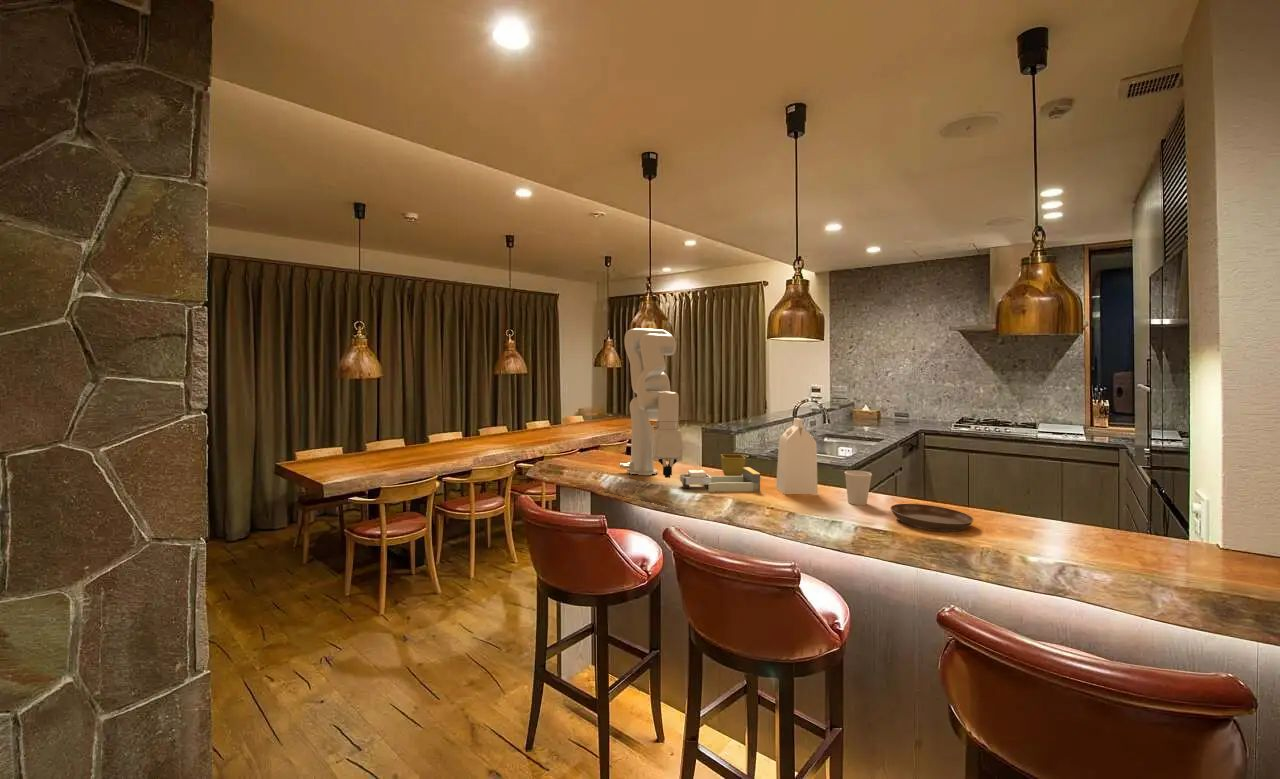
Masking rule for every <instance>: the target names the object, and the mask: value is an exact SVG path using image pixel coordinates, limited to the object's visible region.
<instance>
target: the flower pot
mask: <svg viewBox="0 0 1280 779" xmlns="http://www.w3.org/2000/svg"><path fill="white" fill-rule="evenodd" d="M746 459H747V458H746V457H745V456H744V455H743V454H730V453H728V454H727V453H723V454H721V453H720V462H721V463H720V464H721V465H720V466H721V470H722V473H723V476H743V467H746V466H745V465H746Z"/></svg>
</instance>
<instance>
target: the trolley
mask: <svg viewBox="0 0 1280 779" xmlns="http://www.w3.org/2000/svg"><path fill="white" fill-rule="evenodd" d="M710 476H711V475H709V474H708V473H707V472H706V471H705V470H704V469H687V473H681V474H680V476H679V479H680V480H679V481H680V482H681V485H682V486H683V487H684V489H686V490H689V489H690V486H691V485H693V486H694V485H696V486H697V485H703V486H704V487H705V488H706V489H707V490H708V485H709V483H712V478H711V477H710Z"/></svg>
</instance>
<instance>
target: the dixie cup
mask: <svg viewBox="0 0 1280 779" xmlns="http://www.w3.org/2000/svg"><path fill="white" fill-rule="evenodd" d="M844 475H845V484H846V497H847V503H848V504H850V503H851V505H853V504H856V505H855V506H866V504H868V499H869V491H870V487H871V482H872V481H871V480H872V476H873V474H872V472H869V471H864V470H845V471H844Z"/></svg>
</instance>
